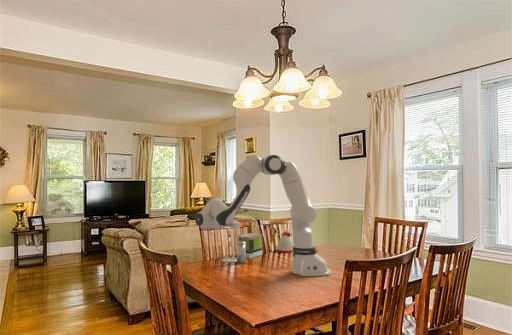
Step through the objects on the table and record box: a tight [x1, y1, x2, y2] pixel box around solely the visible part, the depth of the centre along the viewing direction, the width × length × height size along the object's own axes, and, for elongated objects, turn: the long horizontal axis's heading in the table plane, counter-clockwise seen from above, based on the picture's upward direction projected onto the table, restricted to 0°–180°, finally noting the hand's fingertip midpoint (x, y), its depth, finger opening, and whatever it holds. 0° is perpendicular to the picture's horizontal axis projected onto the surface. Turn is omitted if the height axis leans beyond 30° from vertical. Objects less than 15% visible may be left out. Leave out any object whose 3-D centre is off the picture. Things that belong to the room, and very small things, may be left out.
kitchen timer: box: [276, 230, 294, 254], centre depth 254 cm, size 14×14×15 cm
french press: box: [236, 238, 247, 265], centre depth 219 cm, size 8×6×16 cm
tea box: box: [237, 232, 263, 260], centre depth 237 cm, size 15×10×15 cm
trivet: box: [221, 257, 237, 264], centre depth 223 cm, size 11×11×1 cm
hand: (232, 223), depth 208 cm, fingers open, 8 cm apart
